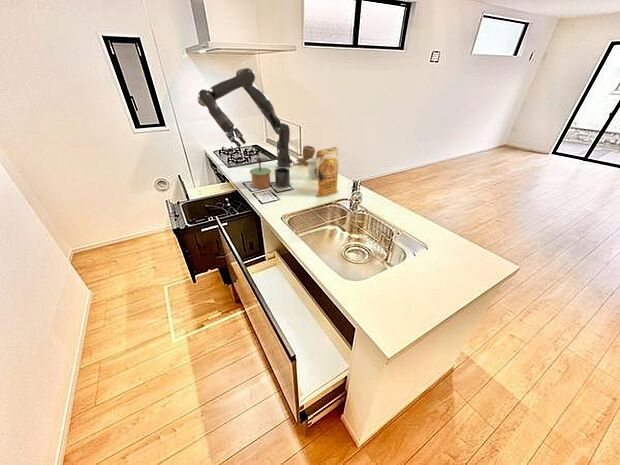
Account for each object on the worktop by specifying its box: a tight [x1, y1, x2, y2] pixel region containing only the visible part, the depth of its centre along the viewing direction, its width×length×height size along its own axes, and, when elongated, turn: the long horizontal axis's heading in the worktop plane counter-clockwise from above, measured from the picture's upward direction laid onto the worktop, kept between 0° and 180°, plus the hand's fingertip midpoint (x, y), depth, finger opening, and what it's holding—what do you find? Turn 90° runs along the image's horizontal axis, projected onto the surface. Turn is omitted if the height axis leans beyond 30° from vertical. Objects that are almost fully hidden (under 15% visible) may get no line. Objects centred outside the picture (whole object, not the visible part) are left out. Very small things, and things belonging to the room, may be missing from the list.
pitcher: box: [306, 157, 318, 181], centre depth 185 cm, size 11×18×14 cm, turn 124°
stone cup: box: [296, 145, 316, 167], centre depth 211 cm, size 15×12×15 cm
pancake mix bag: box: [315, 146, 339, 198], centre depth 158 cm, size 7×19×28 cm, turn 127°
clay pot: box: [250, 172, 271, 190], centre depth 171 cm, size 12×12×10 cm
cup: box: [274, 167, 291, 188], centre depth 173 cm, size 10×10×10 cm
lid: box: [249, 157, 272, 175], centre depth 167 cm, size 14×14×10 cm
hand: (242, 145), depth 162 cm, fingers open, 8 cm apart
